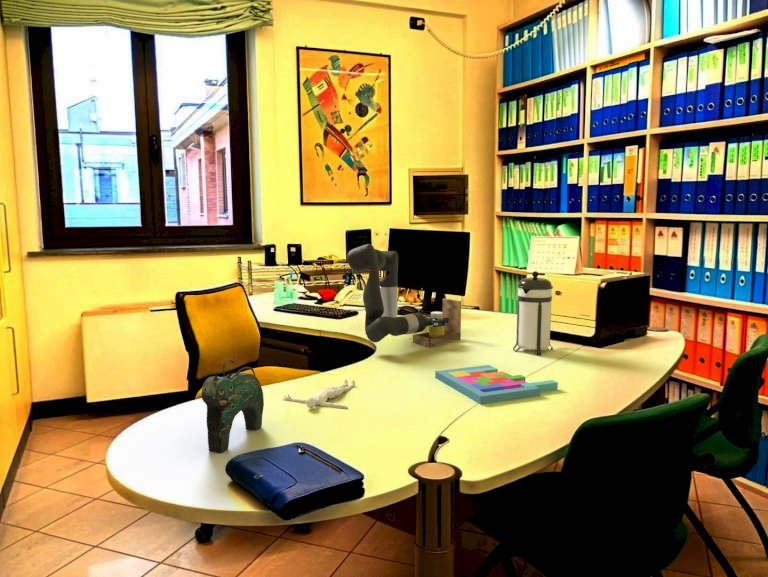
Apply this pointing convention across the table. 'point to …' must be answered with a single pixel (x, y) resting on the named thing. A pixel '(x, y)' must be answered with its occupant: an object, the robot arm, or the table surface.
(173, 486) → the table surface
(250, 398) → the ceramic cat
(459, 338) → the brown angle bracket
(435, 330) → the pill bottle
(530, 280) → the coffee press
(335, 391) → the figure model
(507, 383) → the tetris game
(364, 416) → the table surface
